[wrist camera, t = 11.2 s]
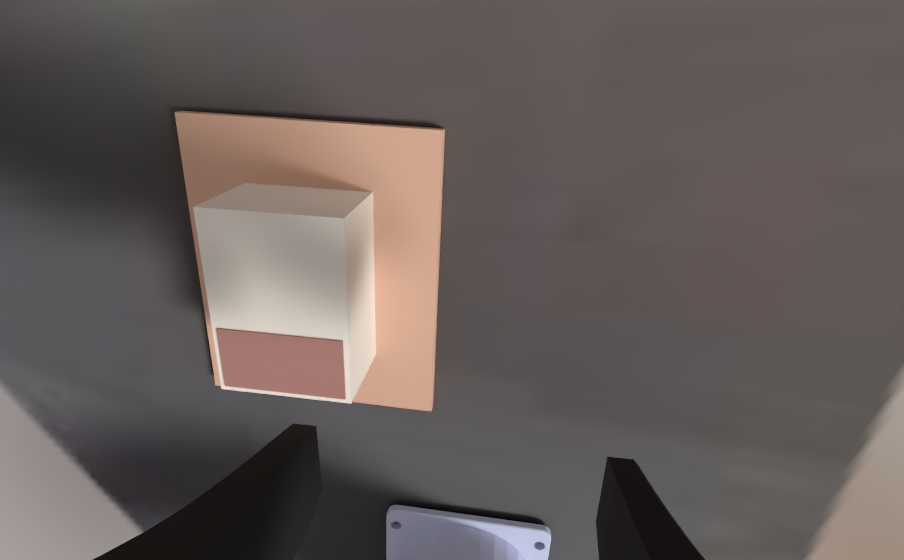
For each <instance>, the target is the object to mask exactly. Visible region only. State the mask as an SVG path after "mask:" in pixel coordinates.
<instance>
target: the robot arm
mask: <svg viewBox="0 0 904 560" xmlns="http://www.w3.org/2000/svg"><path fill="white" fill-rule="evenodd" d="M321 490H322V485H321V474H320V463H319V452H318V441H317V431H316V426H310V425H301V424H292V425H291V426H290V427H288V428H287V429H286V430H284V431H283V432H282V433H281V434H280V435H278V436H277V437H276V438H275V439H273V440H272V441H271V442H270V443H268V444H267V445H266V446H265V447H264V448H262V449H261V450H260V451H259V452H257V453H256V454H255V455H254V456H253V457H251V458H250V459H249V460H248V461H246V462H245V463H244V464H243V465H241V466H240V467H239V468H237V469H236V470H235V471H234V472H232V473H231V474H230V475H229V476H227V477H226V478H225V479H223V480H222V481H221V482H219V483H218V484H216V485H215V486H214V487H212V488H211V489H209V490H208V491H207V492H205V493H204V494H203V495H201V496H200V497H198V498H197V499H196V500H194V501H193V502H191V503H190V504H188V505H187V506H185V507H184V508H182V509H181V510H179V511H178V512H176V513H175V514H173V515H172V516H170V517H168V518H167V519H165V520H164V521H162V522H160V523H159V524H157V525H155V526H154V527H152V528H150V529H149V530H147V531H145V532H144V533H142V534H140V535H138V536H136V537H135V538H133V539H131V540H129V541H127V542H125V543H124V544H122V545H120V546H118V547H116V548H114V549H112V550H111V551H109V552H107V553H105V554H103V555H101V556H99V557H97V558H95V559H93V560H293V558H294V556H295V554H296V552H297V550H298V548H299V546H300V544H301V542H302V540H303V538H304V535H305V533H306V531H307V529H308V527H309V524H310V521H311V519H312V516H313V513H314V510H315V507H316V504H317V501H318V498H319V495H320V492H321ZM396 522H399V523H396ZM596 526H597V539H598V551H599V560H705V559H704V558H703V557H702V555H701V554H700V553H699V552H698V550H697V549H696V548H695V546H694V545H693V544H692V543H691V541H690V540H689V539H688V537H687V536H686V535H685V533H684V532H683V530H682V529H681V528H680V526H679V525H678V524H677V522H676V521H675V520H674V518H673V517H672V515H671V514H670V513H669V511H668V510H667V508H666V507H665V505H664V504H663V502H662V501H661V500H660V498H659V497H658V495H657V494H656V492H655V491H654V489H653V488H652V486H651V484H650V483H649V481H648V480H647V478H646V477H645V475H644V474H643V472H642V470H641V469H640V467H639V466H638V464H637V463H636V462H635V461H634V460H633V459H623V458H614V457H607V462H606V467H605V473H604V479H603V484H602V490H601V496H600V502H599V507H598V513H597V519H596ZM537 542H542V543H537ZM550 543H551V531H550V529H549V528H548V527H546V526H544V525H540V524H533V523H525V522H518V521H511V520H504V519H497V518H489V517H482V516H475V515H468V514H460V513H453V512H446V511H439V510H432V509H424V508H417V507H410V506H403V505H392V506H390V507H389V509H388V512H387V516H386V560H548V554H549V549H550Z"/></svg>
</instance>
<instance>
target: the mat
mask: <svg viewBox="0 0 904 560" xmlns="http://www.w3.org/2000/svg"><path fill="white" fill-rule="evenodd" d="M175 119H176V125H177V132H178V139H179V145H180V152H181V159H182V165H183V172H184V179H185V185H186V192H187V199H188V205H189V212H190V219H191V225H192V232H193V238H194V245H195V252H196V258H197V265H198V272H199V278H200V285H201V292H202V298H203V305H204V312H205V318H206V325H207V332H208V338H209V345H210V352H211V358H212V365H213V372H214V378H215V385H217V386H221V383H220V377H219V371H218V364H217V358H216V351H215V345H214V339H213V332H212V326H211V319H210V313H209V306H208V300H207V294H206V287H205V281H204V274H203V268H202V262H201V255H200V249H199V242H198V236H197V230H196V223H195V217H194V210H193V207H194V206H196V205H198V204H200V203H203V202H205V201H207V200H209V199H211V198H213V197H216V196H218V195H220V194H222V193H224V192H226V191H229V190H231V189H233V188H235V187H237V186H240V185H242V184H244V183H253V184H267V185H281V186H295V187H309V188H323V189H337V190H351V191H365V192H373V220H374V273H375V326H376V355H375V357H374V359H373V361H372V363H371V365H370V367H369V369H368V371H367V373H366V375H365V377H364V379H363V381H362V383H361V385H360V387H359V389H358V391H357V393H356V395H355V397H354V399H353V401H352V402H358V403H366V404H375V405H383V406H391V407H399V408H408V409H416V410H424V411H432V407H433V397H434V373H435V350H436V326H437V303H438V279H439V256H440V233H441V209H442V186H443V162H444V139H445V129H444V128H429V127H414V126H400V125H385V124H370V123H356V122H341V121H326V120H312V119H297V118H282V117H268V116H253V115H238V114H224V113H209V112H194V111H178V112H175Z"/></svg>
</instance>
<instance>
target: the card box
mask: <svg viewBox="0 0 904 560" xmlns="http://www.w3.org/2000/svg"><path fill="white" fill-rule="evenodd" d="M193 210H194V217H195V223H196V230H197V236H198V242H199V249H200V255H201V262H202V268H203V274H204V281H205V287H206V294H207V300H208V306H209V313H210V319H211V326H212V332H213V339H214V345H215V351H216V358H217V364H218V371H219V377H220V383H221V389H227V390H236V391H245V392H253V393H262V394H271V395H280V396H289V397H298V398H306V399H315V400H324V401H333V402H342V403H352V401H353V399H354V397H355V395H356V393H357V391H358V389H359V387H360V385H361V383H362V381H363V379H364V377H365V375H366V373H367V371H368V369H369V367H370V365H371V363H372V361H373V359H374V357H375V355H376V326H375V273H374V220H373V192H365V191H351V190H337V189H323V188H309V187H295V186H281V185H267V184H253V183H244V184H242V185H240V186H237V187H235V188H233V189H231V190H229V191H226V192H224V193H222V194H220V195H218V196H216V197H213V198H211V199H209V200H207V201H205V202H203V203H200V204H198V205H196V206H194V207H193Z"/></svg>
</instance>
